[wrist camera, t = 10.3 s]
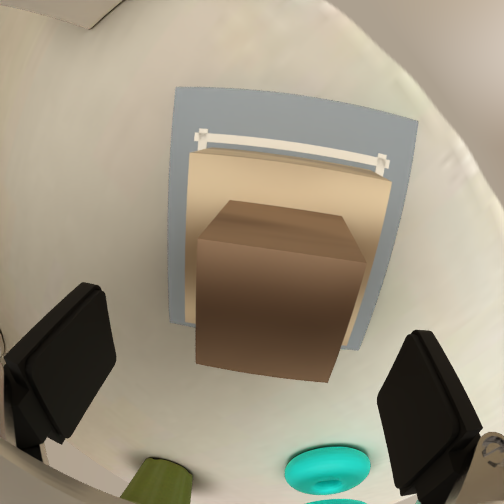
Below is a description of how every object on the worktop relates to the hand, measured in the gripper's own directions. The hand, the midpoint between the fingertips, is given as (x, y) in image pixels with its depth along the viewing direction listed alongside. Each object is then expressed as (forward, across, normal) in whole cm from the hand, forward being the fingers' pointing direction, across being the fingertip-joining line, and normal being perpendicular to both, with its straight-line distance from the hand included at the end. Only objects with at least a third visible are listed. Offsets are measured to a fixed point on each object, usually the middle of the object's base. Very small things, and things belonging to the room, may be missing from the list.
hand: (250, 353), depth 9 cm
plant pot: (+12, +9, +37) cm, 40 cm away
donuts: (+11, -11, +27) cm, 31 cm away
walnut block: (+6, -1, 0) cm, 6 cm away
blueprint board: (+11, -1, 0) cm, 11 cm away
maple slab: (+10, -1, 0) cm, 10 cm away
